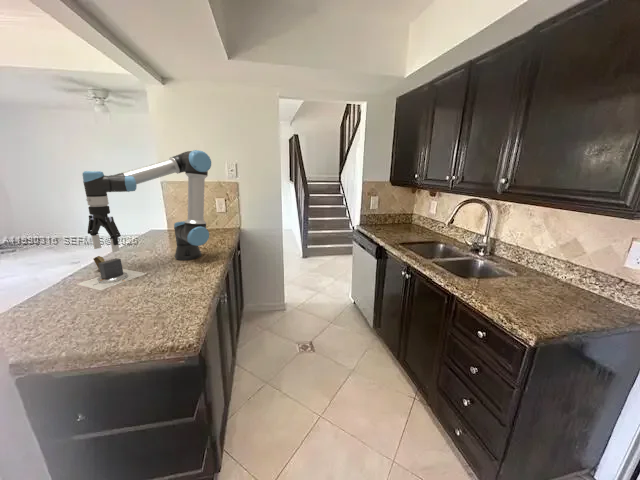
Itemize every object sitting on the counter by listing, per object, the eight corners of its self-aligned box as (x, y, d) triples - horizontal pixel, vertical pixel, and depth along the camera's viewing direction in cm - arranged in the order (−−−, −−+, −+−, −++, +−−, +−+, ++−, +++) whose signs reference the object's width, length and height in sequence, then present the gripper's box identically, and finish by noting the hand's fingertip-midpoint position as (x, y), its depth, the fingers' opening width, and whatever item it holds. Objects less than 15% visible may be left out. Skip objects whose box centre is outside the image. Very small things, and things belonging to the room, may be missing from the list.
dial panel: (124, 271, 147) (123, 268, 146) (147, 276, 140) (146, 273, 140) (76, 287, 127) (75, 283, 127) (100, 293, 121) (100, 290, 120)
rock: (95, 265, 149) (84, 269, 140) (105, 252, 150) (94, 255, 140) (114, 275, 152) (105, 280, 142) (124, 263, 152) (115, 266, 143)
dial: (117, 272, 141) (114, 256, 139) (133, 275, 137) (130, 258, 134) (91, 280, 130) (87, 263, 128) (107, 284, 126) (104, 266, 124)
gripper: (72, 205, 126) (81, 249, 131) (107, 207, 117) (115, 255, 122) (90, 203, 132) (98, 245, 137) (125, 206, 123) (132, 250, 128)
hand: (106, 250), depth 129 cm, fingers open, 13 cm apart
